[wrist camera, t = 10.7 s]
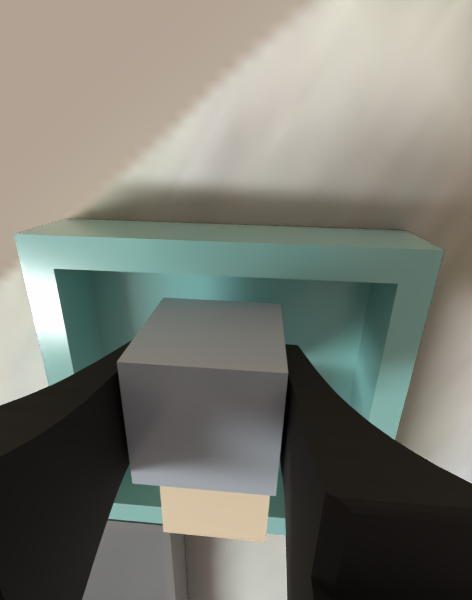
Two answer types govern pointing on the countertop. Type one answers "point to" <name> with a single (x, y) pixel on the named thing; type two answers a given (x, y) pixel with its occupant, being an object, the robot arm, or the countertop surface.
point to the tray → (138, 564)
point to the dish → (244, 288)
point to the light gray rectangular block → (206, 396)
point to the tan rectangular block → (214, 513)
